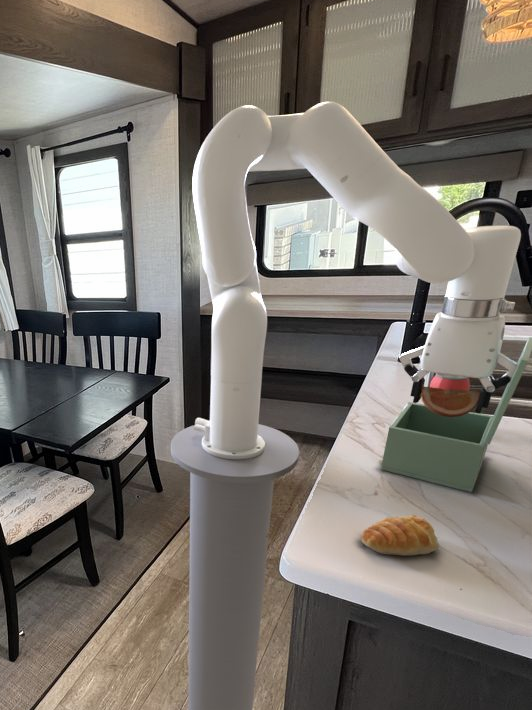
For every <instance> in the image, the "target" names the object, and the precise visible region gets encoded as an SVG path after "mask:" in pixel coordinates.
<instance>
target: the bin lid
mask: <svg viewBox="0 0 532 710" xmlns="http://www.w3.org/2000/svg"><path fill="white" fill-rule="evenodd" d="M531 354H532V337H528V338H527V341H526V343H525V345H524V347H523V349H522V351H521V354H520V356H519V358H518V360H517V362H516V363H517V364H518V365H517V368H516V370H515V372H514V374H513V376H512V378H511V381H510V382H509V383H508V384H506V387H505V389H504V392H503V393H502V396H501V398H500V400H499V403H498V404H497V407H496V409H495V412H494V414H493V415H492V416H493V419H492V421H491V424H490V426H489V429H488V432H487V434H486V437H485V440H484V442H483V443H484V444H488V446H489V445H491V442H492V440H493V439H494V436H495V434H496V431H497V430H498V428H499V425H500V423H501V421H502V419H503V417H504V414H505V412H506V410H507V408H508V406H509V404H510V401H511V400H512V397H513V396H514V393H515V391H516V389H517V387H518V385H519V383H520V380H521V378H522V375H523V373H524V372H525V371H526V372H527V371H528V372H532V358H530V356H531Z"/></svg>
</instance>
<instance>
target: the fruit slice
mask: <svg viewBox="0 0 532 710" xmlns="http://www.w3.org/2000/svg"><path fill="white" fill-rule="evenodd" d="M421 391H422V392H421V394H420V396H421V401H422V404H424V405H426V406H427V407H428V408H429V409H430V410H431V411H433V412H434V413H436V414H439V415H441V416H445V417H458V416H462V415H465V414H467V413H469V412H472V411H473V410H474V409H476V407H477V403H478V399H479V396H480V392H481V391H477V390H469V391H463V390H454V389H450V390H444V389H441V388H433V387H430V386H425V385H424V386H423V387H422V388H421Z"/></svg>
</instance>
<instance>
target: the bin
mask: <svg viewBox="0 0 532 710" xmlns="http://www.w3.org/2000/svg"><path fill="white" fill-rule="evenodd" d="M493 416H494V415H491V414H485V413H476V412H472V411H470V412H469V413H467V414H465V415H462V416H458V417H445V416H441V415H439V414H436V413H434V412H433V411H431V410H430V409H429V408H428V407H427V406H426V405H425V404H424V403H419V402H418V403H413V402H411V401H408V402H407V404H406V405H405V406H404V407H403V409H402V410H401V411H400V413H399V414H398V415H397V417H396V418H395V419H394V421H393V422H392V423H391V424H390V426H389V427H388V432H387V435H386V441H385V446H384V452H383V457H382V460H381V467H380V470H382V471H386V472H390V473H393V474H397V475H400V476H405V477H409V478H413V479H417V480H422V481H425V482H429V483H433V484H437V485H441V486H445V487H449V488H453V489H456V490H460V491H464V492H468V493H473V490H474V488H475V485H476V483H477V479H478V477H479V474H480V471H481V468H482V464H483V462H484V459H485V456H486V453H487V449H488V446H489V445H488V444H484V443H483V442H484V440H485V437H486V434H487V432H488V429H489V426H490V424H491V421H492V419H493Z"/></svg>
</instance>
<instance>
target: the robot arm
mask: <svg viewBox="0 0 532 710" xmlns="http://www.w3.org/2000/svg"><path fill="white" fill-rule="evenodd" d="M305 169H306V170H307V171H308V172H309V173H310V174H311V175H312V176H313V178H314V179H316V180H317V182H318V183H319V184H320V185H321V186H322V187H323V188H324V189H325V190H326V192H327V193H329V195H330V197H332V199H334V200H335V201H336V203H337V204H338V205H339V206H340V207H341V208H342V209H343V210H344V211H345V212H346V213H347V214H348V215H349V216H351V217H352V218H353V219H355V220H357V221H358V222H360V223H362V224H364V225H365V226H367V227H369V228H371V229H372V230H373V231H375V232H376V233H377V234H379V236H381V237H382V238H383V239H385V240H386V241H387V242H388V243H389V244H390V245H391V246H392V247H393V248H394V249H395V250H394V255H393V256H394V257H393V258H394V262H395V265H396V267H397V268H398V269H399V271H401V272H402V273H404V274H406V275H408V276H411V277H413V278H416V279H420V280H421V281H424V282H426V283H430V284H444V283H447V287H446V289H445V290H446V291H445V296H444V299H443V304H442V309H441V312H437V313H436V315H435V317H434V319H433V321H432V323H431V325H430V329H429V331H428V334H427V337H426V340H425V344H424V345H423V346H420V347H418V348H417V347H416V348H415V349H411V350H409V351H407V352H404V353H401V354H400V355H399V357H398V359H399V361H400V363H401V365H402V367H403V369H404V371H405V373H406V374H407V375H408V376H409V377H410V379H411V381H412V386H411V391H410V397H413V400H412V403H418V404H419V402H420V401H421V400H422V398H421V396H420V394H421V392H422V391H421V388H422V387H423V386H424V387H425V383H426V382H425V381H426V379H425V377H426V376H427V375H428V374H429V373H433V374H434V373H435V374H436V373H439V374H447V375H455V376H463V377H469V378H471V379H478V380H479V381H480V383H481V385H482V388H481V390H480V391H479V392H480V396H479V399H478V403H477V405H476V406H475V411H474V413H478V414H482V410H483V408H484V409H488V408H489V405H490V402H491V398H492V395H493V392H494V391H496V390H498V389H500V388H501V387H504V386H507V385H508V383H509V382H510V381H511V378H512V376H513V374H514V372H515V370H516V368H517V365H518V364H517V363H518V362H517V361H514V360H513V359H511V358H510V357H508V356H507V355H505V354H503V353H502V352H501V351H502V345H503V340H504V335H505V327H506V318H505V317H506V316H504V315H501V314H503V312H507V311H509V312H514V311H513V310H514V308H515V304H516V302H515V301H510V300H507V299H505V297H506V293H507V288H508V285H509V283H510V278H511V275H512V270H513V267H514V263H515V261H516V257H517V252H518V249H519V246H520V242H521V238H522V233H521V229H520V228H518V227H517V226H514V225H484V226H483V225H481V226H475V227H474V226H473V227H470V228H467V229H465V228H464V227H463V226H462V225H461V224H460V223H459V221H458V220H457V219H456V218H455V217H454V216H453V215H452V213H450V211H449V210H448V209H447V208H446V207H445V205H443V204H442V203H441V202H440V201H439V200H438V199H437V198H436V197H434V196H433V195H432V194H431V193H430V192H428V190H426V189H425V188H423V187H422V186H421V185H420V184H418V182H417V181H415V180H414V179H413V177H412V176H410V175H409V174H408V173H406V172H405V170H403V169H401V168H400V167H399V166H398V165H397V164H396V162H395V161H394V160H393V159H392V158H391V157H390V156H389V155H388V154H387V152H385V151H384V150H383V149H382V147H381V146H380V145H379V144H378V143H377V142H376V141H375V140H374V138H373V137H372V136H371V135H370V133H368V132H367V130H366V129H365V128H364V127H363V126H362V125H361V123H360V122H359V121H358V120H357V119H356V118H355V117H354V115H352V114H351V112H350V111H348V110H347V108H345V107H344V106H343V105H341V104H340V103H338V102H335V101H322V102H320V103H317V104H315V105H313V106H312V107H310V108H309V109H307V110H306V111H305V112H300V113H292V114H281V115H268V114H267V113H266V112H265V111H264V110H263V109H262V108H260V107H258V106H255V105H241V106H239V107H237V108H234V109H232V110H231V111H229V112H228V113H227V114H226V115H224V116H223V117H222V118H221V119H220V120H219V121H218V122H217V123H216V124H215V125H214V126H213V128H212V129H211V131H210V132H209V133H208V135H207V136H206V137H205V139H204V141H203V142H202V144H201V146H200V149H199V151H198V153H197V155H196V159H195V162H194V166H193V172H192V183H191V185H192V199H193V205H194V213H195V219H196V226H197V233H198V237H199V244H200V249H201V260H202V261H201V262H202V268H203V271H204V273H205V275H206V277H207V278H206V279H207V283H208V288H209V293H210V299H211V304H212V309H213V311H212V317H211V355H210V357H211V358H210V399H209V400H210V401H209V402H210V405H209V420H208V419H206V418H202V417H197V418H195V421H194V425H195V427H194V430H197V431H202V432H204V434H205V436H204V437H203V438H202V447H203V449H204V450H205V451H206V452H208V453H209V454H211V455H214V456H216V457H220V458H224V459H233V460H240V459H248V458H252V457H256V456H258V455H260V454H261V453H262V452H263V451H264V448H265V442H264V440H263V439H262V438H261V437H260V436H259V435H258V424H259V420H260V406H261V394H262V393H261V392H262V380H263V365H264V353H265V345H266V339H267V338H266V337H267V330H268V314H267V313H268V312H267V308H266V306H265V303H264V300H263V298H262V291H261V285H260V279H259V272H258V265H257V250H256V249H257V248H256V245H255V243H254V240H253V236H252V231H251V227H250V225H251V224H250V219H249V213H248V202H247V196H246V179H247V174H248V172H249V173H250V172H270V171H273V172H274V171H292V170H305ZM420 356H421V357H420ZM418 357H420V363H419V366H420V368H419V369H418V367H417V366H416V365H415V364H413V362H412V359H414V358H418ZM497 365H500V366H501V367H503V368H505V369H506V370H507V371H506V373H505V374H503V375H501V376H499V377H496V378H494V376H493V373H494V371H495V370H496V368H497Z"/></svg>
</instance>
